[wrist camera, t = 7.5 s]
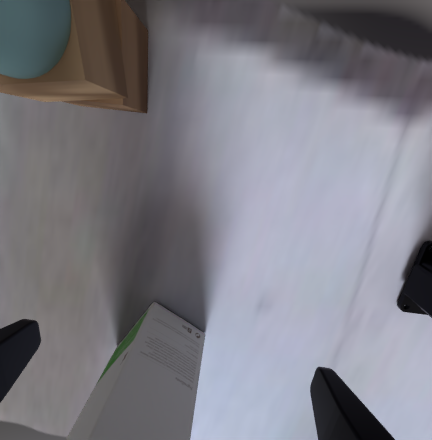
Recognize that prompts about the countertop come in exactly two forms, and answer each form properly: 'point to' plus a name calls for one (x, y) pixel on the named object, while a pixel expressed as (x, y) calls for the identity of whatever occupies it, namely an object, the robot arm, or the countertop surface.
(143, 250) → the countertop surface
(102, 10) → the tan wooden block
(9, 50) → the teal block
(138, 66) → the tower base
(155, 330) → the skincare box
